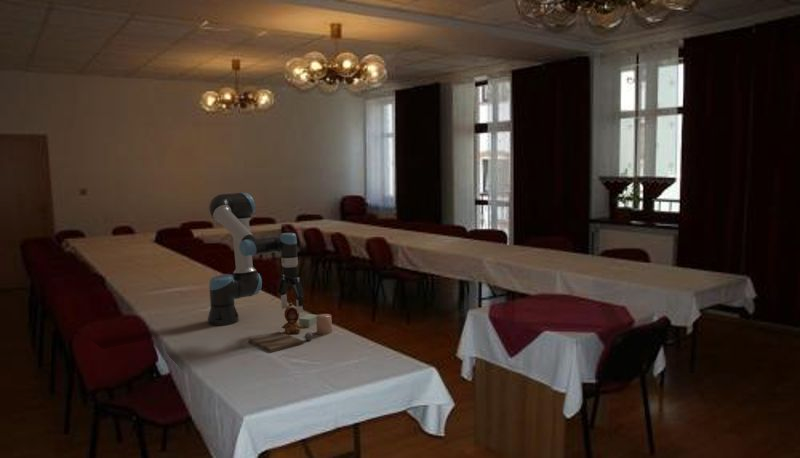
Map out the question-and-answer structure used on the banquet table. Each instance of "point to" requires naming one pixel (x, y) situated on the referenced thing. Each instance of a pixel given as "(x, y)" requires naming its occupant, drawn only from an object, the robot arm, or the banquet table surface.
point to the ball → (308, 336)
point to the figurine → (292, 320)
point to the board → (275, 341)
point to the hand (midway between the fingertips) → (292, 310)
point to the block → (308, 320)
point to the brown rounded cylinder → (324, 324)
